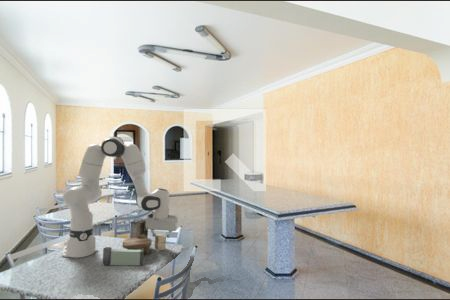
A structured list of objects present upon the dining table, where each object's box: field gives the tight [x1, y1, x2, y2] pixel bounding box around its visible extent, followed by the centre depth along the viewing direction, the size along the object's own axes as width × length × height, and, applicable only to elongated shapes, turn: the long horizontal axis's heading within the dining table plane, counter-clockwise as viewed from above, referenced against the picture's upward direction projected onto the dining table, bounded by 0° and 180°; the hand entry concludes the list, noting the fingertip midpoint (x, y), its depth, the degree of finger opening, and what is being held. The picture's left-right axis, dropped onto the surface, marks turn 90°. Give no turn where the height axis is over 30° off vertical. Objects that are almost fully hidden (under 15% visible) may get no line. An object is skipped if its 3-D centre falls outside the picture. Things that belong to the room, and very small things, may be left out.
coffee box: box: [129, 218, 149, 238], centre depth 175 cm, size 9×6×16 cm
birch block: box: [154, 233, 167, 252], centre depth 173 cm, size 5×5×8 cm
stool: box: [122, 237, 153, 255], centre depth 160 cm, size 16×16×8 cm
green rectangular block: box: [102, 246, 145, 266], centre depth 147 cm, size 20×4×8 cm, turn 94°
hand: (161, 236), depth 173 cm, fingers open, 8 cm apart
